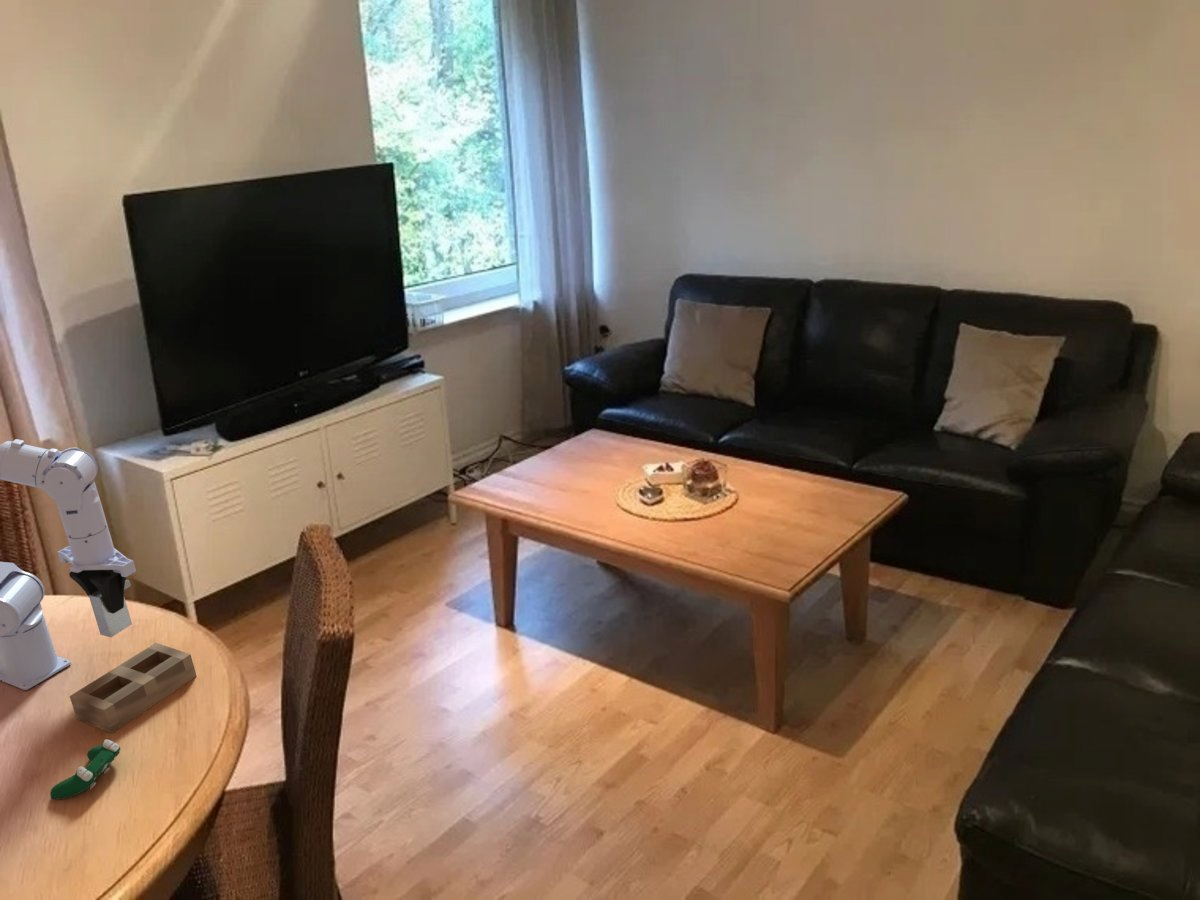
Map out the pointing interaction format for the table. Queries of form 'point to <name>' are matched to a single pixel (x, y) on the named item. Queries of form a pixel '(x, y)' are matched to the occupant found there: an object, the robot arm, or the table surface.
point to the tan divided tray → (133, 687)
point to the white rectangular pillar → (109, 615)
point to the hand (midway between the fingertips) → (110, 608)
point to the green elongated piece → (87, 771)
